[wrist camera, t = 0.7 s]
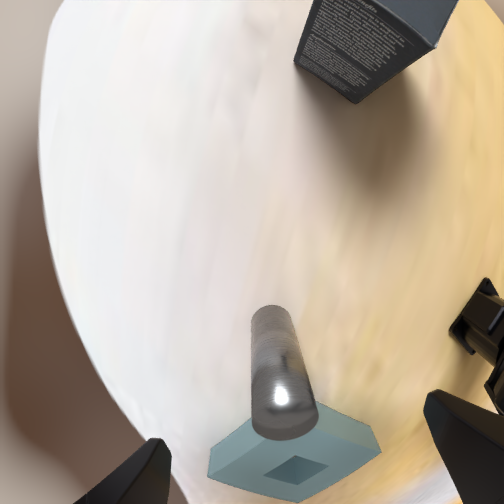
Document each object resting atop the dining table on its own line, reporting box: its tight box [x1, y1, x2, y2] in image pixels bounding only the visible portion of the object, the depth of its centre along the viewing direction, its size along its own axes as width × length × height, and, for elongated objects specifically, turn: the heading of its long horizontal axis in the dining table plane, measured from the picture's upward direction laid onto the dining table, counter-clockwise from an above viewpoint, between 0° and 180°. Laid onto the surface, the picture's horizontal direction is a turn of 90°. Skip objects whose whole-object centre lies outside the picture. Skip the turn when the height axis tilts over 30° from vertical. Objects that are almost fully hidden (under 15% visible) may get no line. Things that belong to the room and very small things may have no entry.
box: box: [293, 0, 459, 104], centre depth 11 cm, size 8×6×11 cm
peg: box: [251, 305, 319, 441], centre depth 16 cm, size 3×3×10 cm
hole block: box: [207, 401, 381, 503], centre depth 22 cm, size 12×12×4 cm
